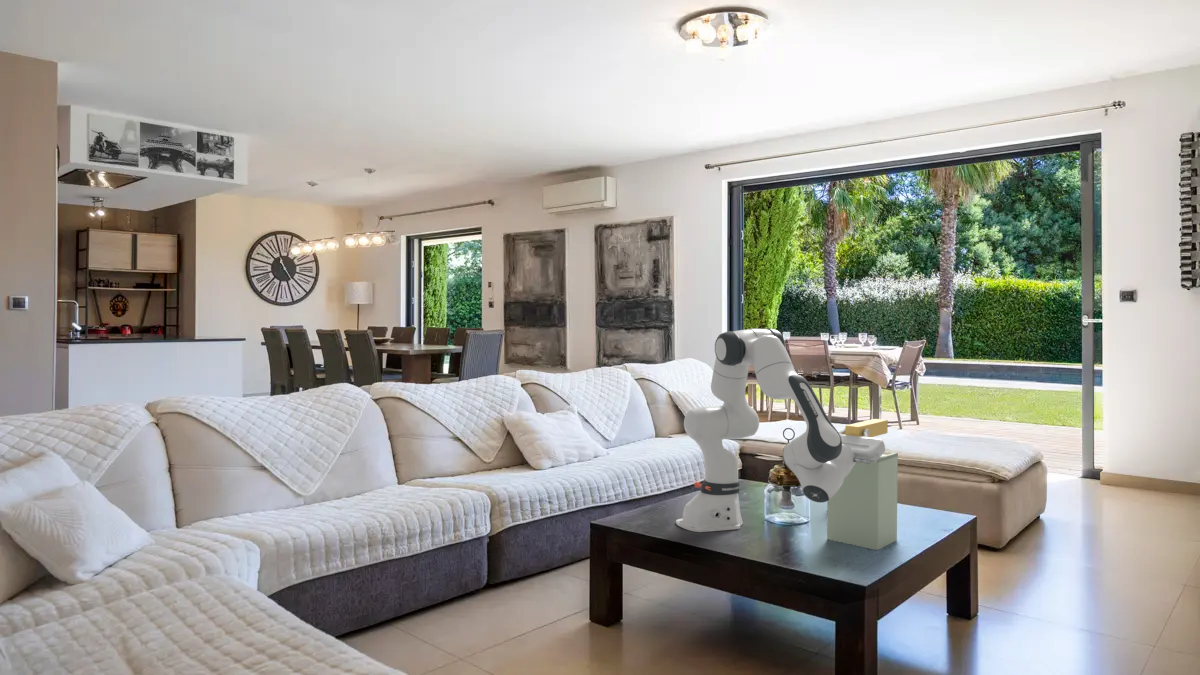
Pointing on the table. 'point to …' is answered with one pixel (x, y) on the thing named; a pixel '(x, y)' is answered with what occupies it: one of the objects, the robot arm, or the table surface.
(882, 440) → the robot arm
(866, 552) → the table surface
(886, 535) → the sage green slotted block
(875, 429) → the bar
